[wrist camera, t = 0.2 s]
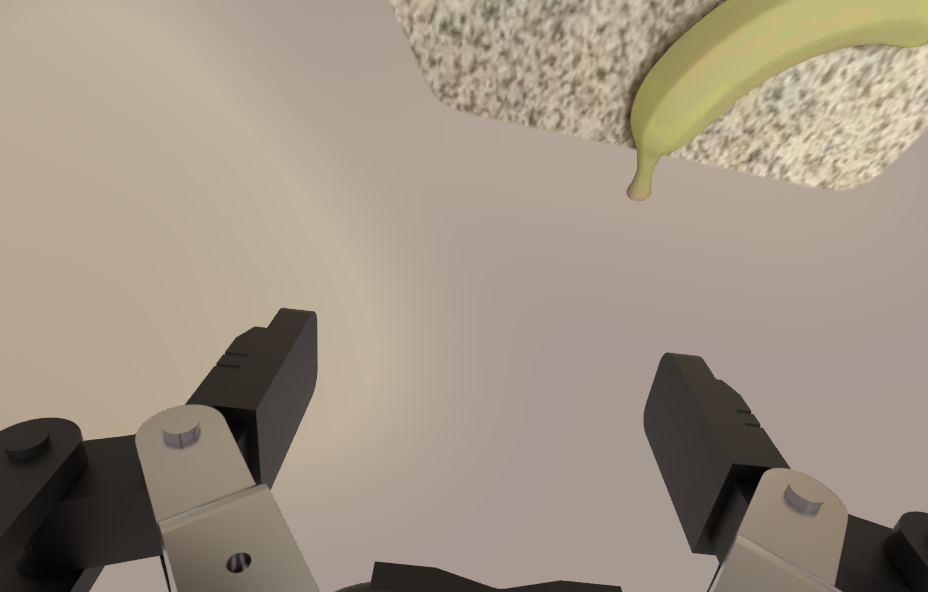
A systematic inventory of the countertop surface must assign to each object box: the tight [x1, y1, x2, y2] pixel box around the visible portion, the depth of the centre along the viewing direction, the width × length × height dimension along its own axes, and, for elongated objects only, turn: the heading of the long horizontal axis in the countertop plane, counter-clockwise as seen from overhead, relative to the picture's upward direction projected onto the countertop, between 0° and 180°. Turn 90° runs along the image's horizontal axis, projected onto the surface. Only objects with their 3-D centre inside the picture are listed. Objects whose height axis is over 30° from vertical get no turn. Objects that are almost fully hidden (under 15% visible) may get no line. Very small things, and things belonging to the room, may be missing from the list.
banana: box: [627, 0, 928, 201], centre depth 36 cm, size 14×6×20 cm
